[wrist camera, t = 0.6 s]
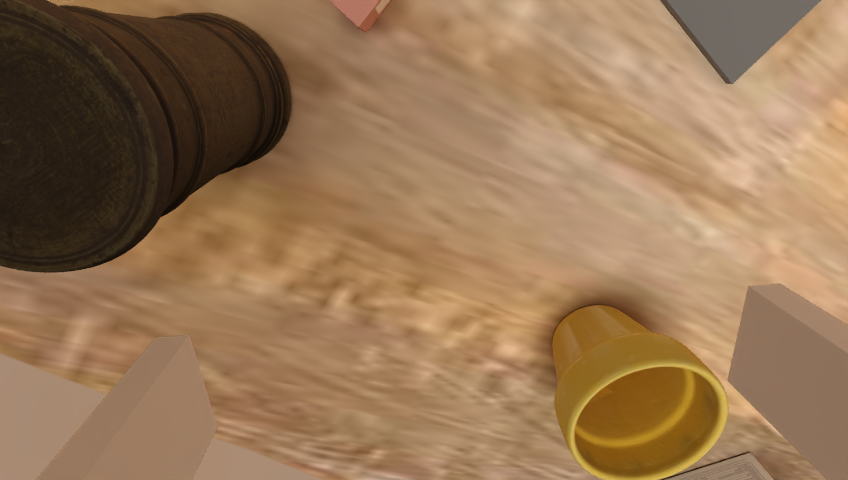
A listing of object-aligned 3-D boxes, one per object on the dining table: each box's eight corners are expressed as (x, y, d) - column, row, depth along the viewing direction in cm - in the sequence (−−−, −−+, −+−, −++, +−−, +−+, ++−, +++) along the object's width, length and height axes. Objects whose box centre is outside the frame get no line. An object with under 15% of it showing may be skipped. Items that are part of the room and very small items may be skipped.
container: (193, -18, 28) (-118, -123, 11) (320, 82, 30) (225, 120, 13) (124, 105, 30) (-220, 173, 13) (247, 188, 32) (88, 334, 16)
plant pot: (595, 407, 41) (650, 507, 32) (503, 357, 39) (536, 449, 30) (678, 322, 38) (764, 406, 29) (585, 261, 36) (648, 332, 27)
